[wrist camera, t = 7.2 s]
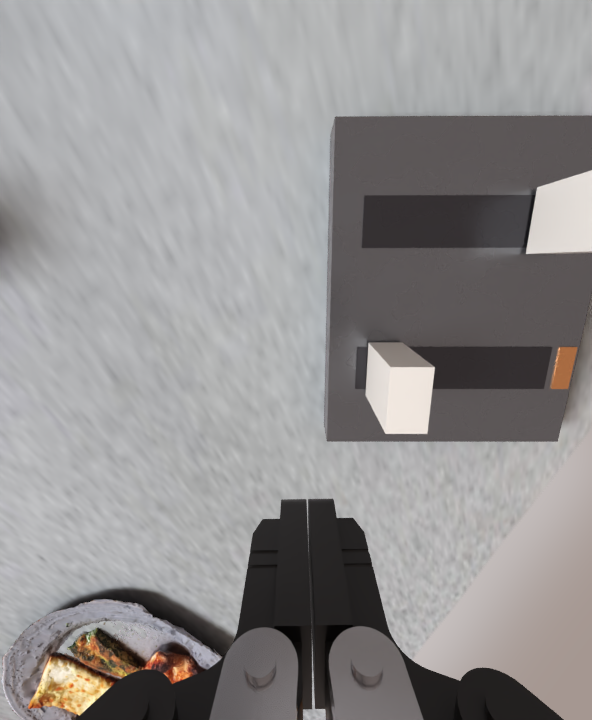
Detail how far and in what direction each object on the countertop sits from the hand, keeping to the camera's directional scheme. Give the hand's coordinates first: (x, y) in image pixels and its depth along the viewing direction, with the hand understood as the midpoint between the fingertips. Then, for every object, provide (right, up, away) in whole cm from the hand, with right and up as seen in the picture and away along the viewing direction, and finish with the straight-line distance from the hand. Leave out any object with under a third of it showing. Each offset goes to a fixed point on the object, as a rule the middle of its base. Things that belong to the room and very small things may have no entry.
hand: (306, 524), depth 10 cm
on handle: (+16, +14, +12) cm, 24 cm away
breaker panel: (+11, +10, +17) cm, 22 cm away
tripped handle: (+6, +4, +15) cm, 17 cm away
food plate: (-19, -31, +29) cm, 46 cm away
